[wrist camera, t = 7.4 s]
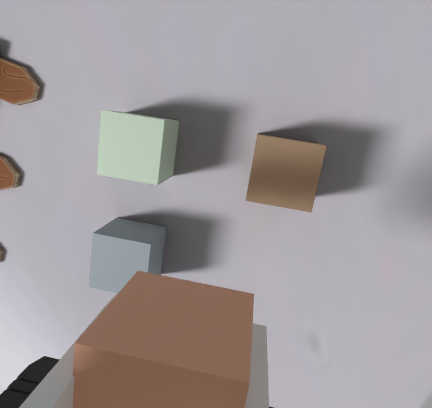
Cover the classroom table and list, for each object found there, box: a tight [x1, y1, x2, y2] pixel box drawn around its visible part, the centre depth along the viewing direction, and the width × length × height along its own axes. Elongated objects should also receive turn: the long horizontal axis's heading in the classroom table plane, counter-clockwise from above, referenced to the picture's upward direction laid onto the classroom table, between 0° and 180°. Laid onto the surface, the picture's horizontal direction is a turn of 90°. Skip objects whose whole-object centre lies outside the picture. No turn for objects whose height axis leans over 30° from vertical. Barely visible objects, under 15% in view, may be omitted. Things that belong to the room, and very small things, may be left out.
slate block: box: [89, 218, 167, 293], centre depth 31 cm, size 5×5×5 cm
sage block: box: [97, 110, 180, 185], centre depth 28 cm, size 5×5×5 cm
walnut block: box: [246, 133, 327, 212], centre depth 27 cm, size 5×5×5 cm
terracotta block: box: [73, 271, 254, 408], centre depth 12 cm, size 5×5×5 cm
